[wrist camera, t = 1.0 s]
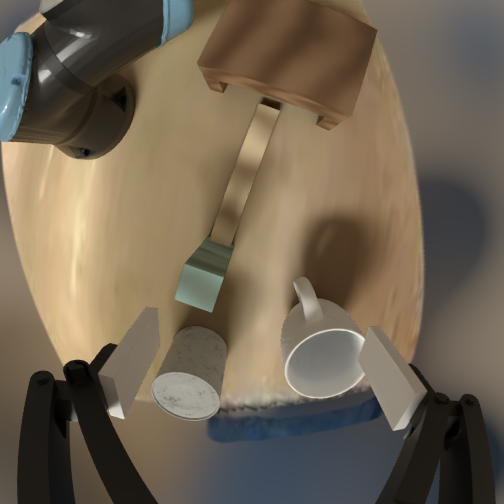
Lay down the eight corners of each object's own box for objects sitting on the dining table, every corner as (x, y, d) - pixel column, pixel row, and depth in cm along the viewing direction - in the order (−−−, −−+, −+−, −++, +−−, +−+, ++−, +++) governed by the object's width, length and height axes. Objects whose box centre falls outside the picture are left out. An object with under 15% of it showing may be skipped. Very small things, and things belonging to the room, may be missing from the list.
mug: (258, 277, 41) (260, 318, 28) (328, 252, 40) (359, 283, 27) (287, 355, 44) (297, 408, 32) (349, 333, 43) (376, 380, 31)
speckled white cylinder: (176, 319, 43) (152, 363, 31) (233, 334, 43) (226, 382, 32) (170, 363, 45) (150, 409, 33) (221, 376, 46) (213, 426, 34)
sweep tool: (225, 270, 41) (211, 312, 27) (199, 261, 41) (174, 299, 27) (282, 115, 35) (296, 80, 22) (255, 105, 35) (255, 67, 22)
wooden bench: (210, 89, 34) (197, 62, 25) (244, 19, 31) (241, -17, 22) (329, 130, 36) (351, 115, 26) (353, 57, 33) (377, 29, 23)
